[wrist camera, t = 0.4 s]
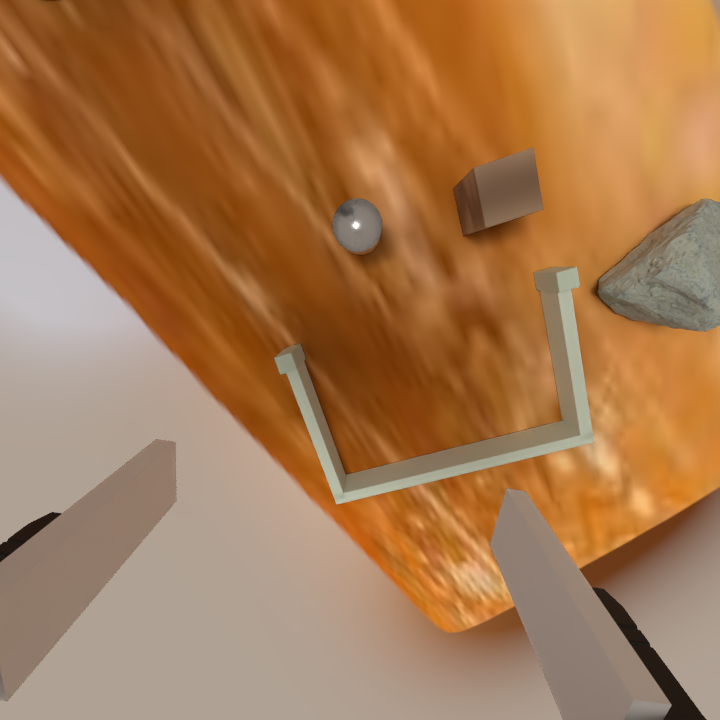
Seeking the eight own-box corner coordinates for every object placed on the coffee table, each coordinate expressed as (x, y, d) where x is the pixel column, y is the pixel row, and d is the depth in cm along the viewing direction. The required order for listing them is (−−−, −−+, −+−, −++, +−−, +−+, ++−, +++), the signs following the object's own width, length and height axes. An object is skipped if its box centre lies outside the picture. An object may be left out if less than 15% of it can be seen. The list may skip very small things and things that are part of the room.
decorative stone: (589, 348, 36) (723, 369, 28) (573, 263, 30) (737, 260, 22) (638, 272, 39) (769, 271, 31) (633, 183, 34) (791, 156, 26)
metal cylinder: (335, 220, 33) (325, 208, 27) (373, 207, 33) (373, 191, 26) (347, 260, 34) (341, 258, 28) (385, 247, 34) (388, 242, 27)
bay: (285, 347, 37) (273, 358, 33) (551, 266, 34) (577, 266, 29) (337, 485, 41) (333, 510, 37) (577, 426, 38) (602, 446, 34)
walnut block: (452, 188, 32) (473, 168, 25) (499, 172, 32) (533, 147, 25) (463, 236, 33) (485, 227, 27) (508, 221, 33) (543, 209, 26)
